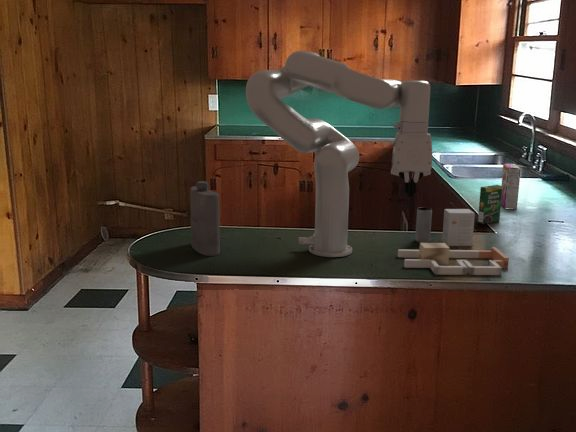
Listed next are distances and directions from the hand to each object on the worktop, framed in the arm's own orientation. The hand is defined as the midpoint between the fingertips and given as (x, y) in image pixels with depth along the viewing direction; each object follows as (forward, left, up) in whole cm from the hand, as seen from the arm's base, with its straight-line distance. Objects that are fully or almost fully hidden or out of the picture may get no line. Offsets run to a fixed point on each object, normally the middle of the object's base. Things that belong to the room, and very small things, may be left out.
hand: (409, 196), depth 168 cm
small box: (+20, +19, -19) cm, 33 cm away
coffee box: (+39, +47, -19) cm, 64 cm away
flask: (-57, +10, -19) cm, 61 cm away
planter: (+10, +22, -19) cm, 31 cm away
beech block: (+8, 0, -19) cm, 20 cm away
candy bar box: (+56, +74, -19) cm, 95 cm away
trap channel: (+13, -3, -19) cm, 23 cm away
